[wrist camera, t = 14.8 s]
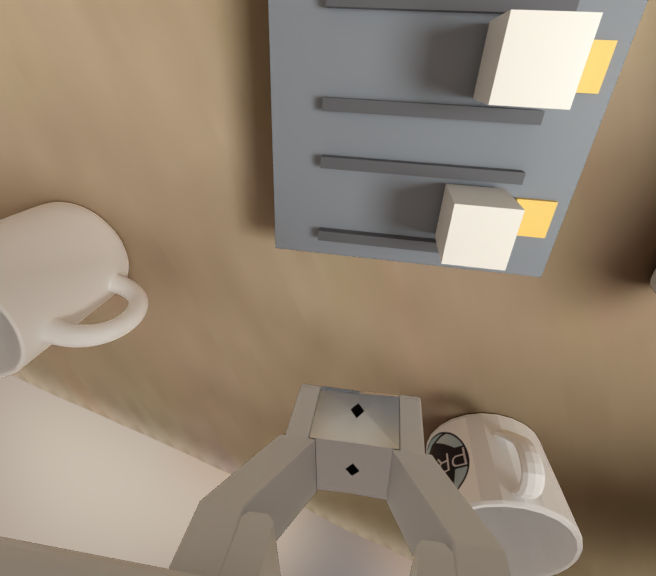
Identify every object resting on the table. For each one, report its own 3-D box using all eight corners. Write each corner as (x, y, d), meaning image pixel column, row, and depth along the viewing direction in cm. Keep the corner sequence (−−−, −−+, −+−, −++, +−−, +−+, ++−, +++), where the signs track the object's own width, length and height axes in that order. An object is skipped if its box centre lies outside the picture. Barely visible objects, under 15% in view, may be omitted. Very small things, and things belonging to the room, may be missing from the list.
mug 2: (522, 493, 36) (552, 592, 29) (413, 473, 37) (417, 565, 30) (577, 395, 29) (632, 494, 22) (440, 375, 30) (453, 464, 24)
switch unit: (708, -265, 14) (798, -363, 10) (525, 255, 24) (544, 282, 21) (282, -245, 15) (253, -324, 12) (287, 230, 26) (272, 251, 23)
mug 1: (184, 244, 28) (87, 322, 19) (170, 323, 32) (85, 418, 24) (31, 180, 27) (-142, 232, 19) (37, 270, 32) (-101, 347, 23)
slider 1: (505, 188, 19) (524, 210, 16) (489, 241, 21) (505, 270, 18) (445, 183, 20) (454, 203, 17) (434, 236, 21) (441, 263, 18)
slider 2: (563, 23, 16) (603, 12, 13) (539, 103, 17) (569, 109, 14) (489, 21, 16) (511, 9, 13) (472, 99, 17) (488, 104, 14)
